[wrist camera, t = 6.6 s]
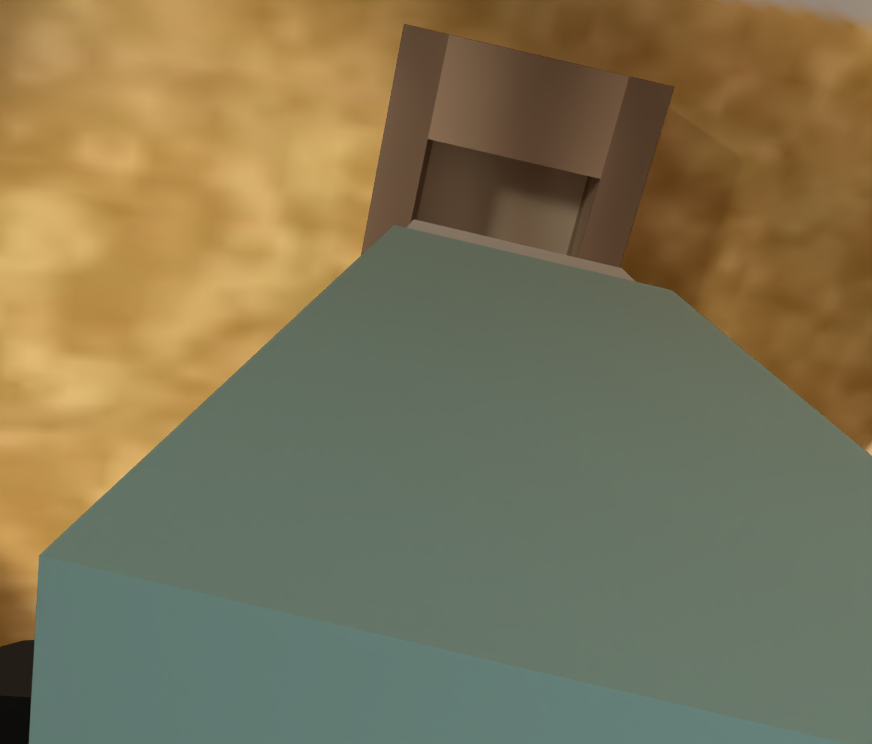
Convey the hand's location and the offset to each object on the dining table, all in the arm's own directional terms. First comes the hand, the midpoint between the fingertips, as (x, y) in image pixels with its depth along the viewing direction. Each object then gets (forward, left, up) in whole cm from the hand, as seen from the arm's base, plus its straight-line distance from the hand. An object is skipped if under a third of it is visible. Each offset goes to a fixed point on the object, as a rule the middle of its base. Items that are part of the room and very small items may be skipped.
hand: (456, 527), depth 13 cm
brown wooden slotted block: (0, 0, -19) cm, 19 cm away
